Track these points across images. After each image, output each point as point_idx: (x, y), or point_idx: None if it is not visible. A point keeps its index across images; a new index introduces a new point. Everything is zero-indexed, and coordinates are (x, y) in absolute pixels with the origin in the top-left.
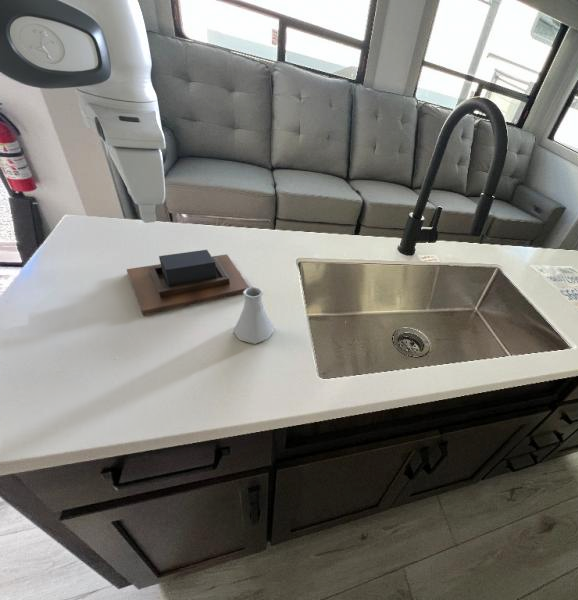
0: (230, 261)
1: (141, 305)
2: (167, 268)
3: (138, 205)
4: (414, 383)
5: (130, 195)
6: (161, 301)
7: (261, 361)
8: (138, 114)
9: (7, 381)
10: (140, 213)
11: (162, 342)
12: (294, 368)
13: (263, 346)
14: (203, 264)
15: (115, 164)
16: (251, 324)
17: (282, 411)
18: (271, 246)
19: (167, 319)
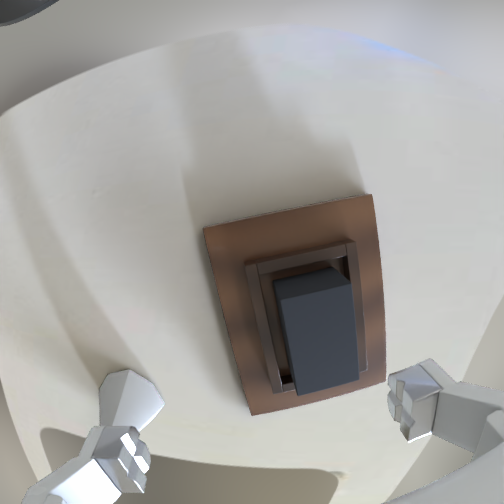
0: (357, 388)
1: (222, 226)
2: (285, 303)
3: (59, 480)
4: None
5: (394, 377)
6: (230, 263)
7: (68, 385)
8: None
9: (91, 70)
10: (98, 446)
11: (119, 260)
12: (58, 414)
13: (96, 397)
14: (293, 374)
15: (498, 485)
16: (101, 409)
17: (3, 378)
18: (396, 438)
19: (183, 269)
